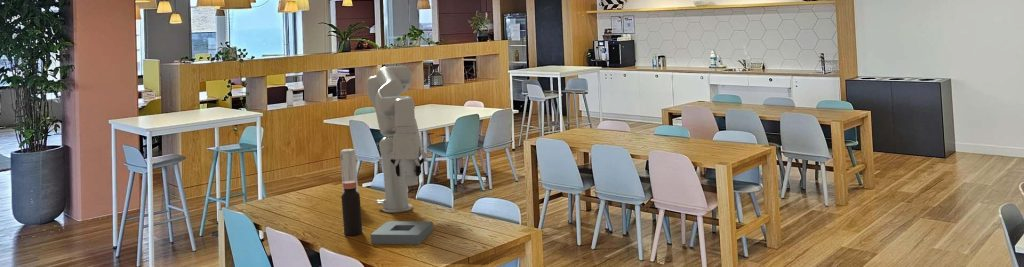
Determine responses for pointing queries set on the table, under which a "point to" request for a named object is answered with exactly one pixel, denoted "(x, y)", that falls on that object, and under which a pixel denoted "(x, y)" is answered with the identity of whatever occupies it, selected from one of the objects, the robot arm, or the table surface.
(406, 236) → the socket block
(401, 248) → the table surface
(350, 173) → the air filter
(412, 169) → the skincare box
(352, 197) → the bottle
